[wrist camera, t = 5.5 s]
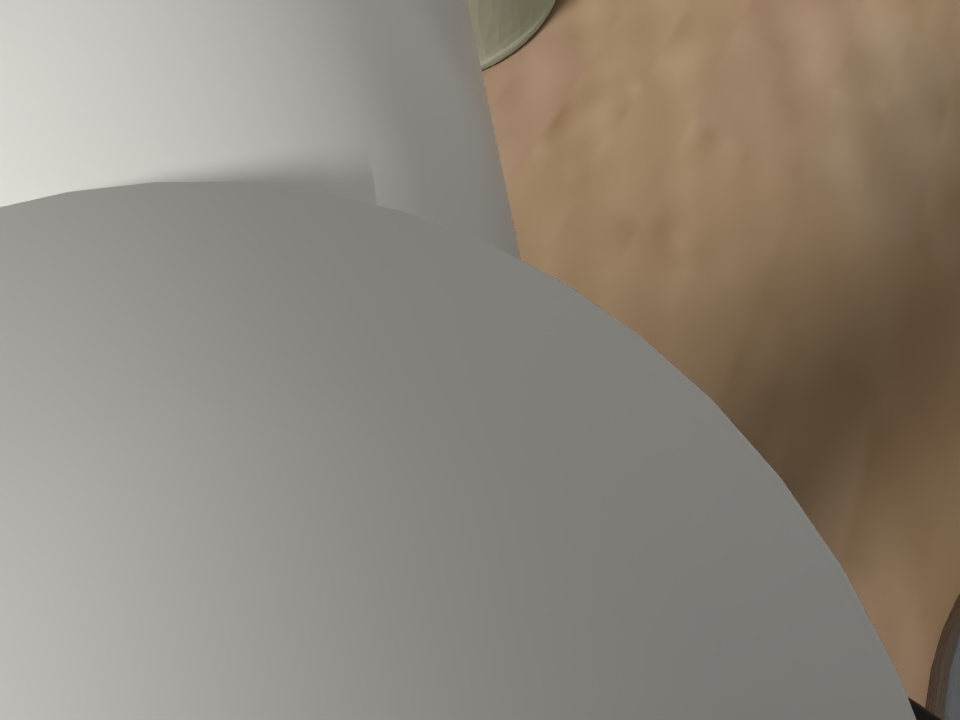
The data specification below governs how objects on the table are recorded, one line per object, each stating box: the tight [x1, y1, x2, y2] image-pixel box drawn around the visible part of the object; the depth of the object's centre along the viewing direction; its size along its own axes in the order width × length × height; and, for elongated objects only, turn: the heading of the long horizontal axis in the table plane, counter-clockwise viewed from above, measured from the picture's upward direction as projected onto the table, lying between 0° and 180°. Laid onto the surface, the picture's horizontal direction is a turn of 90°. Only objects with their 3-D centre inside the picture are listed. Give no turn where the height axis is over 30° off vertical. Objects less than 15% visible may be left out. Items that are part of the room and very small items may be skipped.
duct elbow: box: [0, 0, 916, 720], centre depth 9 cm, size 7×4×12 cm, turn 10°
